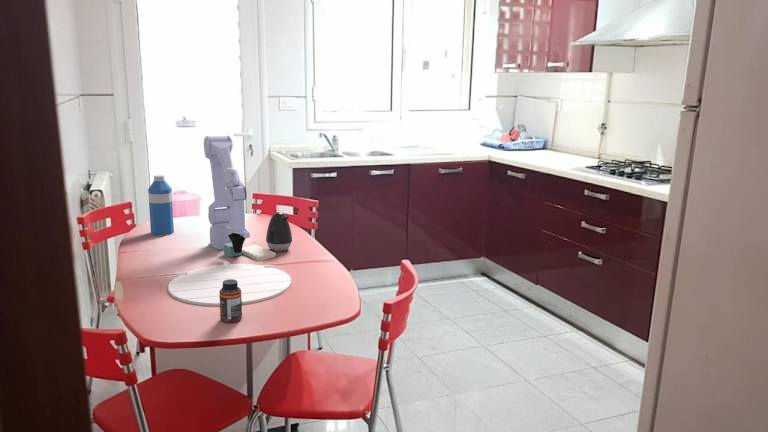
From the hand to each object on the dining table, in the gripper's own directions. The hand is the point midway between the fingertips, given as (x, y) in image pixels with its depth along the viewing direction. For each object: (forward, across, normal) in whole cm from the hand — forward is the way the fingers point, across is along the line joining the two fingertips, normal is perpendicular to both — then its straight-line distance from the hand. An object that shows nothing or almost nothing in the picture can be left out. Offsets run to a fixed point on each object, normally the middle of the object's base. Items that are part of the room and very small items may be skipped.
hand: (238, 252), depth 227 cm
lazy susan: (+2, +25, -17) cm, 30 cm away
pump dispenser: (+2, +1, +18) cm, 18 cm away
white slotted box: (+2, +1, +8) cm, 8 cm away
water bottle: (+2, -52, -7) cm, 52 cm away
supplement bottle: (+2, +52, -32) cm, 61 cm away
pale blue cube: (+2, -4, 0) cm, 4 cm away
